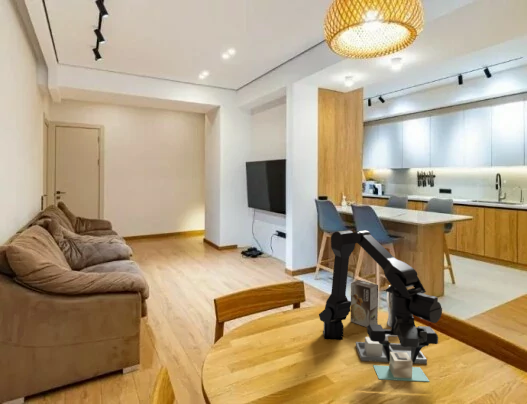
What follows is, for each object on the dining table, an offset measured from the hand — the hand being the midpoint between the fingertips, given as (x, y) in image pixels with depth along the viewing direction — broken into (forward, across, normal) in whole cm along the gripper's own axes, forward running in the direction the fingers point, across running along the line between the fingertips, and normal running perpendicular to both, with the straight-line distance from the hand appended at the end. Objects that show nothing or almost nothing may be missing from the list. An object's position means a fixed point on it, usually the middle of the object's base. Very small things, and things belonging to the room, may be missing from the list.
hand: (400, 361), depth 100 cm
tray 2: (+4, +5, +11) cm, 13 cm away
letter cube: (+3, 0, 0) cm, 3 cm away
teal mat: (+4, 0, 0) cm, 4 cm away
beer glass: (+4, +9, +35) cm, 36 cm away
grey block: (+4, -5, +11) cm, 13 cm away
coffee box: (+4, -3, +36) cm, 36 cm away
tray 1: (+4, -5, +11) cm, 13 cm away
